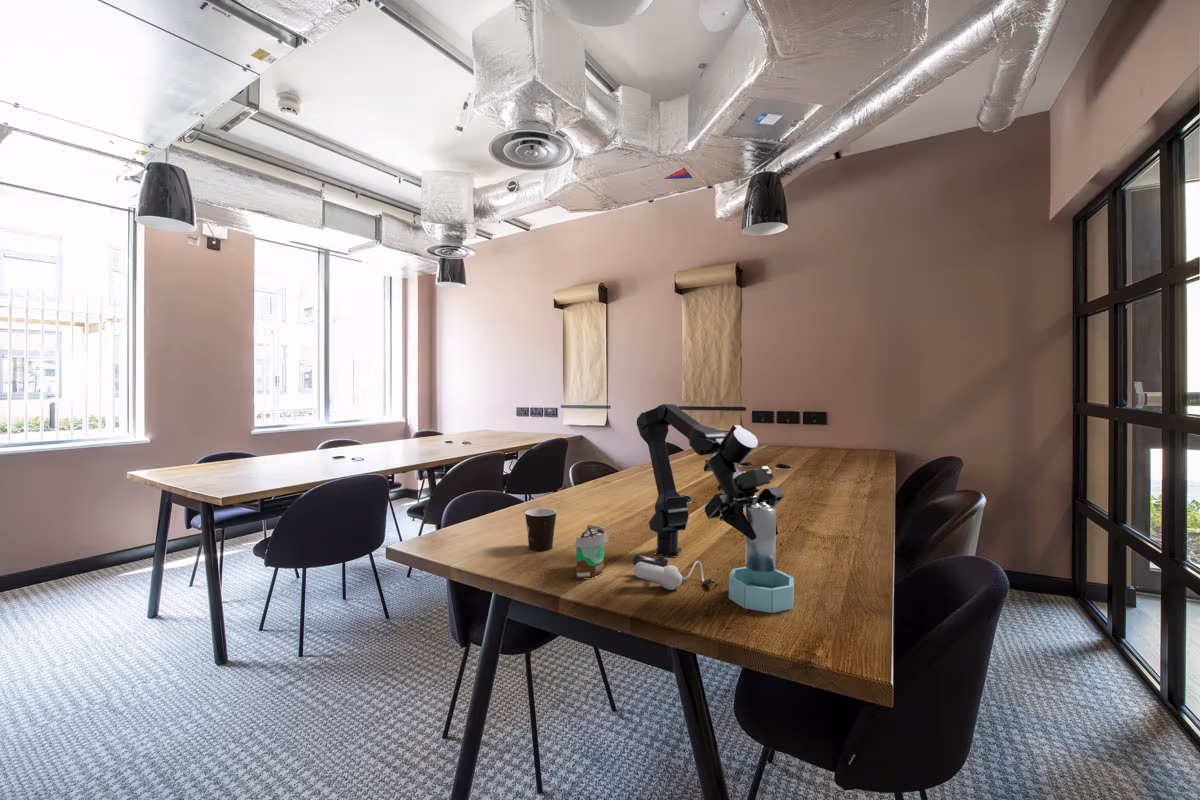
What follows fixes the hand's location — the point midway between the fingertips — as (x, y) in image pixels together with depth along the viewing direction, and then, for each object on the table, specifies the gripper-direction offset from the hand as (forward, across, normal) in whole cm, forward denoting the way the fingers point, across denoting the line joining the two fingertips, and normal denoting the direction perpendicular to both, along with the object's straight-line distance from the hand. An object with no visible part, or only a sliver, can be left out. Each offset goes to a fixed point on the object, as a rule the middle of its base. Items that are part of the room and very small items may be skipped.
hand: (765, 537), depth 101 cm
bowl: (+9, 0, +10) cm, 13 cm away
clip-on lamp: (-2, -11, +22) cm, 25 cm away
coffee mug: (-27, -30, +47) cm, 62 cm away
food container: (-11, -25, +31) cm, 41 cm away
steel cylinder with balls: (+4, 0, +6) cm, 7 cm away
